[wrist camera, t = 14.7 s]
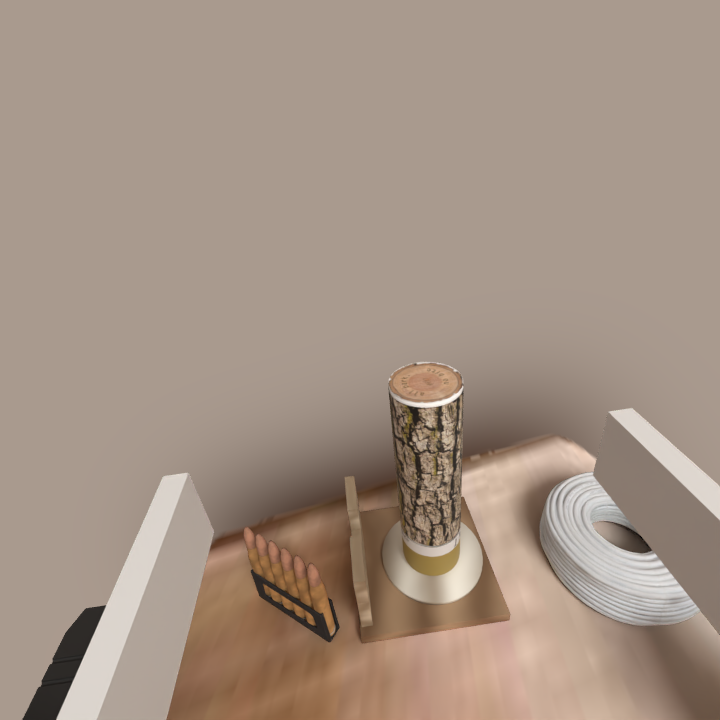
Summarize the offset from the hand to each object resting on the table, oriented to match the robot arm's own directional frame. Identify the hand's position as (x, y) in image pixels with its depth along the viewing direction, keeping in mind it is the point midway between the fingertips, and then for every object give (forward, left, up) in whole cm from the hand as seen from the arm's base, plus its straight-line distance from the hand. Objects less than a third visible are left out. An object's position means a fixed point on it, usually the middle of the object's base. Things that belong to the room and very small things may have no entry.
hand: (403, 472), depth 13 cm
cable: (+27, +19, -38) cm, 51 cm away
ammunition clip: (-11, +18, -38) cm, 44 cm away
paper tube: (+5, +22, -36) cm, 43 cm away
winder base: (+4, +22, -38) cm, 44 cm away
